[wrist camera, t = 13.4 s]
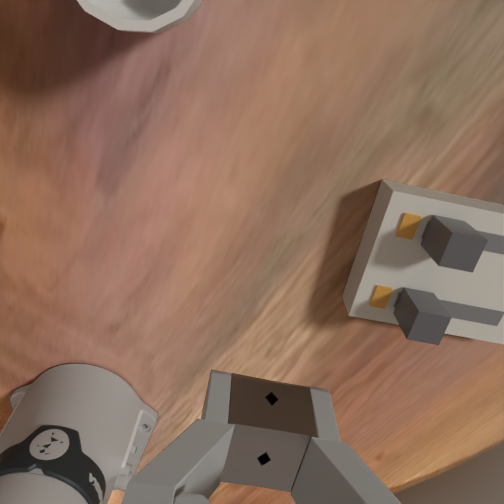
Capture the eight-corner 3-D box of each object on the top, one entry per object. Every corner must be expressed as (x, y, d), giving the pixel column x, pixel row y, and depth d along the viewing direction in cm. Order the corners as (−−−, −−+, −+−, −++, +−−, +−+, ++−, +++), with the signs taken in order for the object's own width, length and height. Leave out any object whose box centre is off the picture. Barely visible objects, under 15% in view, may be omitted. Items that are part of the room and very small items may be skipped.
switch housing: (505, 326, 50) (525, 349, 47) (341, 296, 49) (349, 317, 45) (565, 217, 45) (594, 233, 41) (382, 179, 43) (394, 191, 39)
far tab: (422, 318, 45) (438, 344, 41) (393, 313, 45) (407, 339, 41) (433, 292, 44) (451, 317, 40) (403, 287, 44) (419, 311, 39)
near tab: (451, 251, 42) (472, 272, 38) (420, 245, 42) (438, 265, 37) (464, 221, 40) (488, 240, 36) (432, 214, 40) (452, 232, 36)
